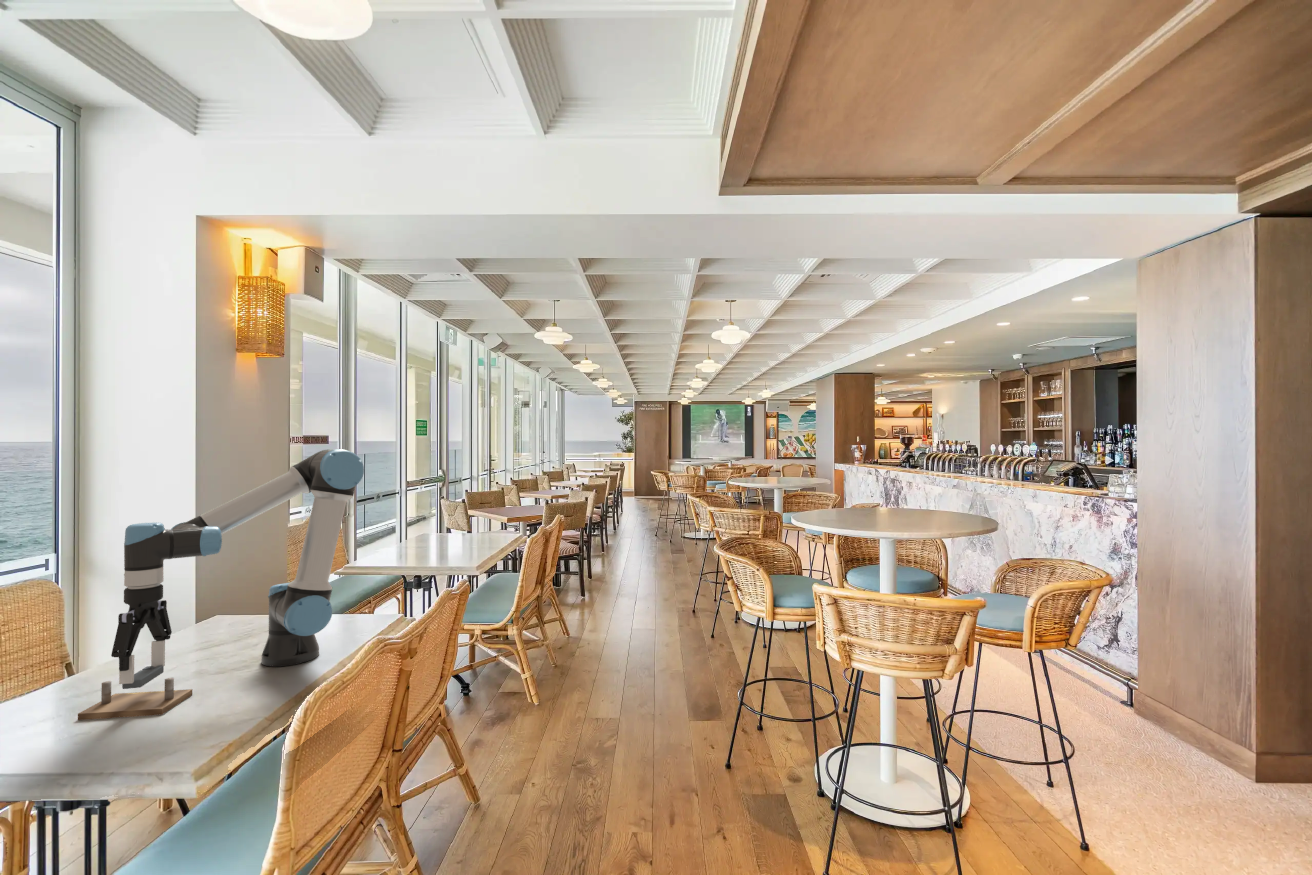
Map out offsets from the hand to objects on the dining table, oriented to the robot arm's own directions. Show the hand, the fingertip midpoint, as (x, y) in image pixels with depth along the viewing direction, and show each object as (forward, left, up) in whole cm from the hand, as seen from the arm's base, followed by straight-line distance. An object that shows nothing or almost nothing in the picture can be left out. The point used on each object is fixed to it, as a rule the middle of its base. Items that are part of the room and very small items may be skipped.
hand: (142, 674), depth 151 cm
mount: (+1, 0, -8) cm, 8 cm away
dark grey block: (0, 0, -2) cm, 2 cm away
